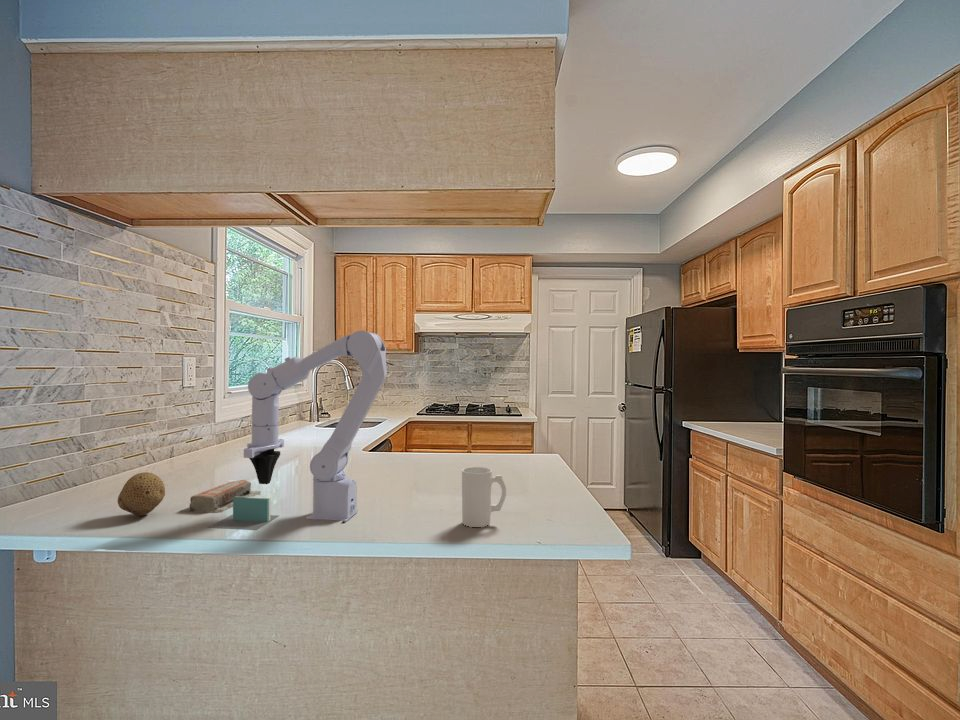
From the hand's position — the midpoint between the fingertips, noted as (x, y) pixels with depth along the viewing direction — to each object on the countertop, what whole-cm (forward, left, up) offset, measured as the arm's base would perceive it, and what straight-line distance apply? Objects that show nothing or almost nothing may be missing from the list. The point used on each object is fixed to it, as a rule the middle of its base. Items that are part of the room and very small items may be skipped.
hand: (264, 483), depth 122 cm
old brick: (+15, -8, -8) cm, 19 cm away
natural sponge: (+27, +4, -8) cm, 28 cm away
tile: (0, +5, -7) cm, 9 cm away
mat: (+1, +6, -7) cm, 10 cm away
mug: (-51, -2, -8) cm, 52 cm away
